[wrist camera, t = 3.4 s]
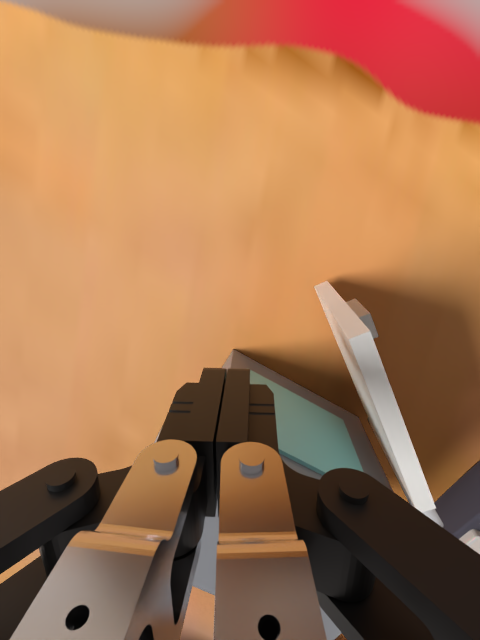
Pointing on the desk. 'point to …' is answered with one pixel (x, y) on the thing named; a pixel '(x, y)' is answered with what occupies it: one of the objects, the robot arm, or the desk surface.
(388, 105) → the desk surface
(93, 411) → the desk surface
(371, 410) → the side door
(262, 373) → the camera body
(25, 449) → the desk surface
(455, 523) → the calculator
